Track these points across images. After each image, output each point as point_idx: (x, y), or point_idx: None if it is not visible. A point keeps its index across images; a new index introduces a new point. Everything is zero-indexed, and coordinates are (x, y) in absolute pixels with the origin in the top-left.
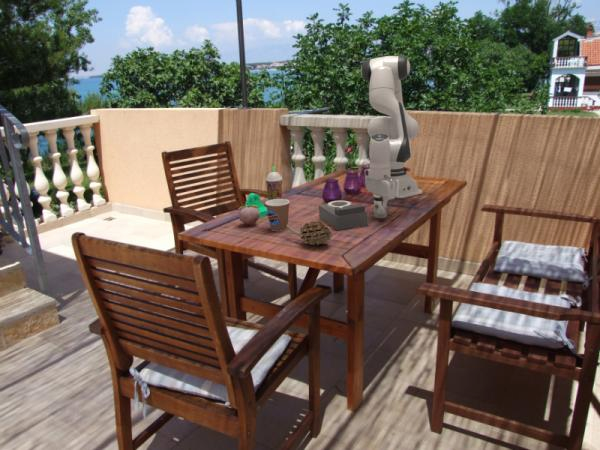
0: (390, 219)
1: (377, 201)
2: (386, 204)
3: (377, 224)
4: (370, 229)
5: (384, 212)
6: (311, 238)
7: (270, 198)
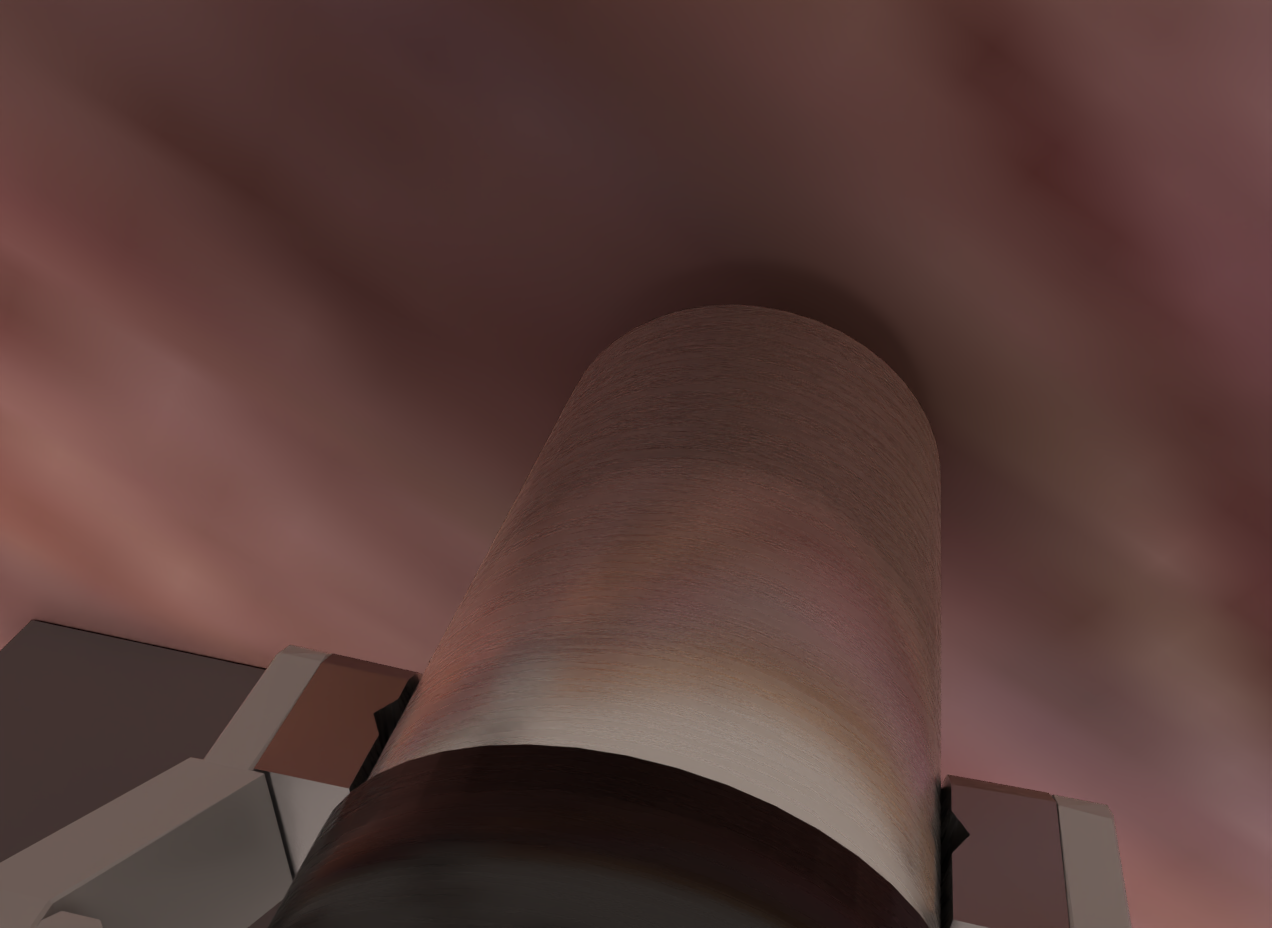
0: (903, 155)
1: None
2: (1114, 883)
3: (1027, 658)
4: (1200, 916)
5: (939, 576)
6: None
7: None
